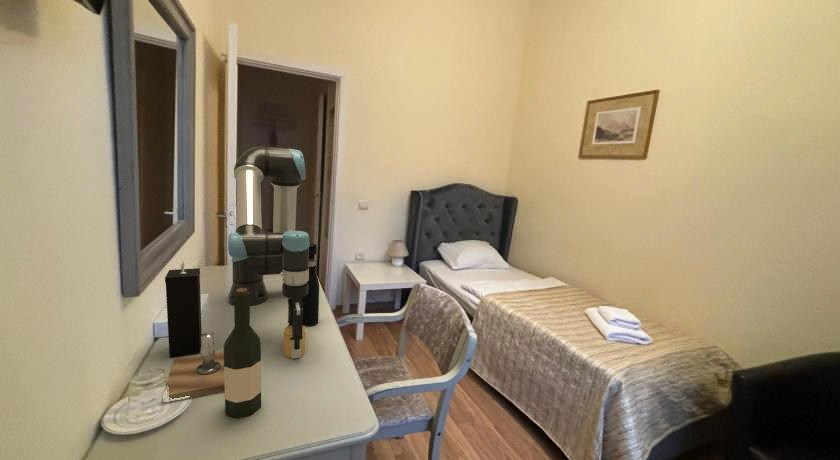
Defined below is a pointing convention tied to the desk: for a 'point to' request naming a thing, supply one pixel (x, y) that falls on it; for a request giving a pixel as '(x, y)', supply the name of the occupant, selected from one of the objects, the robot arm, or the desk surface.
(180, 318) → the black pillar candle
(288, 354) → the ochre cap
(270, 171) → the robot arm
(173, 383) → the walnut board
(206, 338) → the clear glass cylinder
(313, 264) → the wine bottle
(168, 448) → the desk surface
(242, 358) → the labelled green bottle
